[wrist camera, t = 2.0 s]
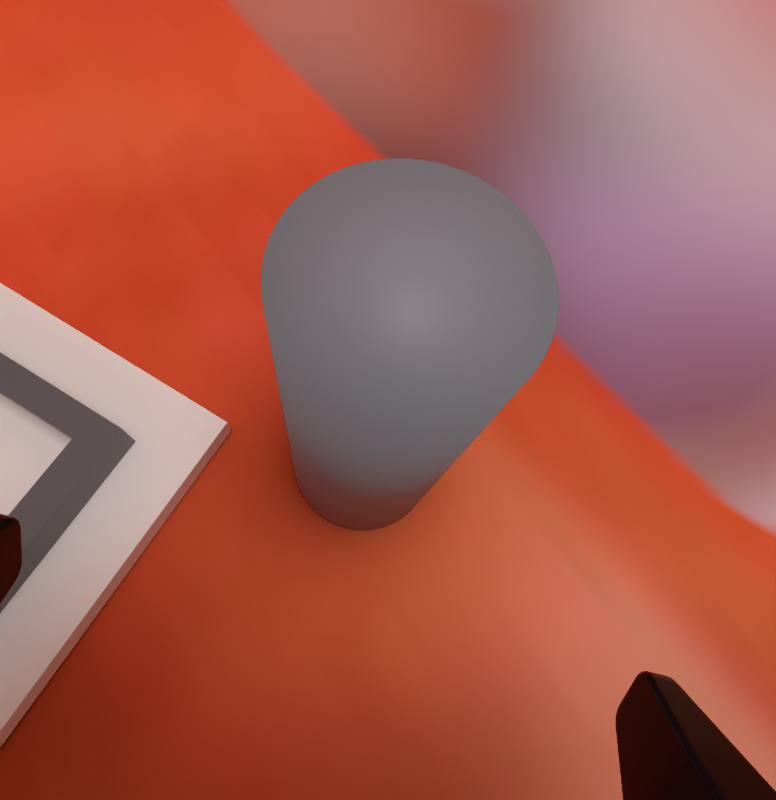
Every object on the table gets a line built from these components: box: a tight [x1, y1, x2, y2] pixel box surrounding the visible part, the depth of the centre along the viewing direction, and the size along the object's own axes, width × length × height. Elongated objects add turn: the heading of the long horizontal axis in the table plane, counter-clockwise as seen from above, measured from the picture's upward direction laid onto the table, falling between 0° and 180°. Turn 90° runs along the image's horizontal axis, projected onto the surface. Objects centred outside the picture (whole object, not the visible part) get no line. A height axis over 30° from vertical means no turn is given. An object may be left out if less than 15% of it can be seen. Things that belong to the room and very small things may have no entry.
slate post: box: [261, 158, 559, 530], centre depth 16 cm, size 5×5×12 cm
